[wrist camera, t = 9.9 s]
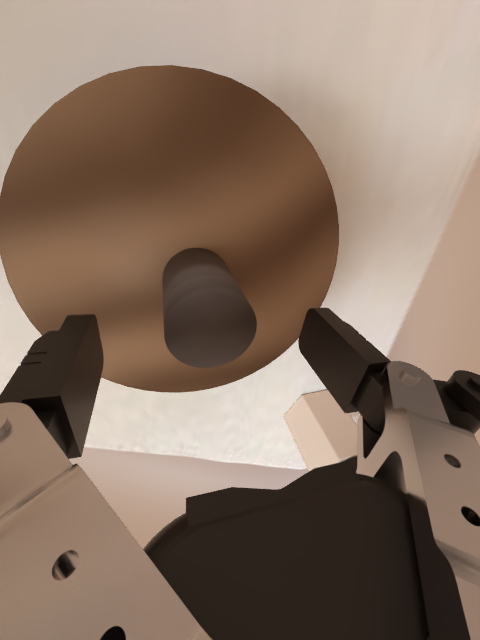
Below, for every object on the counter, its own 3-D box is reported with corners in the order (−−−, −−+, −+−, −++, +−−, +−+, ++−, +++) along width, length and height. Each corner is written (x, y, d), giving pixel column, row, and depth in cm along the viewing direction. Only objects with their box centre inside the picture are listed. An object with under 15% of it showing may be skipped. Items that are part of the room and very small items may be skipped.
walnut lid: (-101, 195, 10) (-353, 237, 5) (282, -14, 10) (411, -187, 5) (151, 412, 20) (148, 499, 15) (346, 311, 20) (410, 365, 15)
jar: (311, 432, 42) (358, 517, 32) (273, 425, 38) (313, 520, 28) (348, 394, 39) (412, 475, 29) (310, 382, 35) (369, 472, 25)
